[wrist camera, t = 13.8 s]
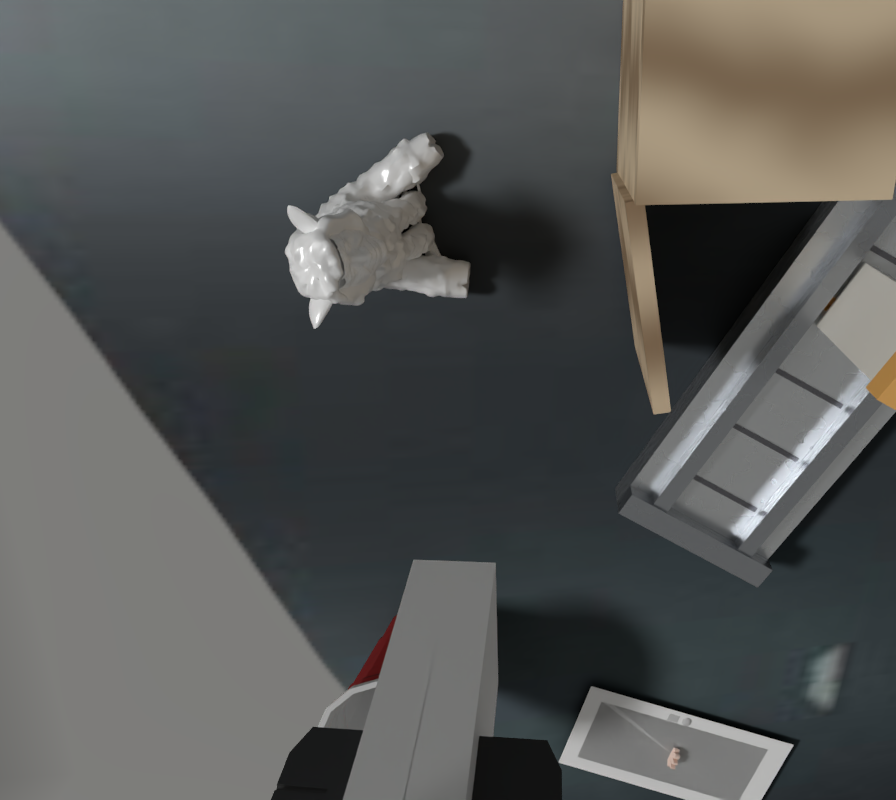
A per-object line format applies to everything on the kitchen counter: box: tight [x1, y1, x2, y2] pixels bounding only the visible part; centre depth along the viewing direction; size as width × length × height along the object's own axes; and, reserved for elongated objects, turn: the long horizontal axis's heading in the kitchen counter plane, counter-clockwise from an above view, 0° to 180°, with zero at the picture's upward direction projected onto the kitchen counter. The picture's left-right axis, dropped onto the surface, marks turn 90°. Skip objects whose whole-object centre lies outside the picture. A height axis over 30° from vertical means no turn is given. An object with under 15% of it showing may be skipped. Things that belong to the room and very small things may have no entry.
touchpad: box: [559, 686, 793, 800], centre depth 59 cm, size 8×15×2 cm, turn 76°
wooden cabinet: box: [611, 0, 896, 414], centre depth 38 cm, size 20×10×12 cm, turn 2°
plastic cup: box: [318, 615, 397, 730], centre depth 52 cm, size 11×11×12 cm
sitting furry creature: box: [285, 133, 470, 329], centre depth 41 cm, size 10×9×12 cm
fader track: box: [615, 182, 896, 587], centre depth 46 cm, size 24×10×3 cm, turn 152°
